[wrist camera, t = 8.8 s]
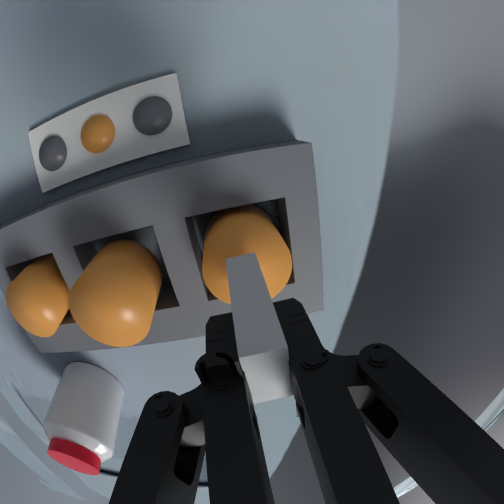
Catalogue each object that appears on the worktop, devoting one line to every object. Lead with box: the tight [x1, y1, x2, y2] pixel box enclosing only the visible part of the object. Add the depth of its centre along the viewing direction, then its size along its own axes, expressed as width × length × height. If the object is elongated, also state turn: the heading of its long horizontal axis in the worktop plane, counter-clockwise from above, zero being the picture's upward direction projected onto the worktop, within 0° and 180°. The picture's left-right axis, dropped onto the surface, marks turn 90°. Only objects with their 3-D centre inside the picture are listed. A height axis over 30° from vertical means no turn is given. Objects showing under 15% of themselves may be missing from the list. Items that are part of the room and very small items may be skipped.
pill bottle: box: [43, 362, 124, 475], centre depth 20 cm, size 8×8×11 cm
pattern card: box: [28, 73, 190, 193], centre depth 15 cm, size 12×5×1 cm, turn 99°
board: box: [0, 140, 324, 353], centre depth 18 cm, size 26×12×3 cm, turn 99°
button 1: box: [202, 204, 292, 304], centre depth 17 cm, size 5×5×4 cm
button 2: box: [6, 253, 70, 337], centre depth 17 cm, size 5×5×4 cm
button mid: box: [69, 239, 162, 347], centre depth 15 cm, size 5×5×4 cm
